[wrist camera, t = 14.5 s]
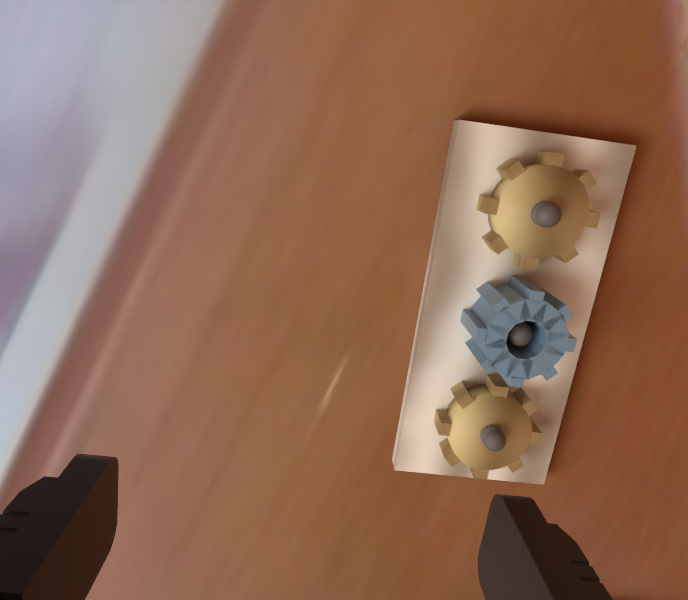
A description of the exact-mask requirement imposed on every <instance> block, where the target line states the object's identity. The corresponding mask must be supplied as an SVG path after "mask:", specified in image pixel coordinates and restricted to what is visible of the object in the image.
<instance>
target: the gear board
mask: <svg viewBox="0 0 688 600" xmlns="http://www.w3.org/2000/svg"><path fill="white" fill-rule="evenodd" d="M635 150H636V145H629V144H622V143H615V142H609V141H602V140H595V139H588V138H581V137H574V136H568V135H561V134H554V133H547V132H540V131H533V130H527V129H520V128H513V127H506V126H499V125H492V124H486V123H479V122H472V121H465V120H454V122H453V127H452V133H451V138H450V144H449V149H448V155H447V160H446V166H445V171H444V177H443V182H442V188H441V193H440V199H439V204H438V210H437V215H436V221H435V226H434V232H433V237H432V243H431V248H430V254H429V259H428V265H427V270H426V276H425V282H424V287H423V293H422V298H421V304H420V309H419V315H418V320H417V326H416V331H415V337H414V342H413V348H412V353H411V359H410V364H409V370H408V375H407V381H406V386H405V392H404V397H403V403H402V408H401V414H400V419H399V425H398V430H397V436H396V441H395V447H394V452H393V458H392V461H393V465H394V470H398V471H409V472H419V473H429V474H440V475H450V476H461V477H471V478H476V479H492V480H502V481H513V482H523V483H533V484H544V482H545V479H546V475H547V471H548V468H549V464H550V460H551V457H552V453H553V449H554V446H555V442H556V438H557V435H558V431H559V428H560V424H561V420H562V417H563V413H564V409H565V406H566V402H567V398H568V395H569V391H570V387H571V384H572V380H573V376H574V373H575V369H576V365H577V362H578V358H579V354H580V351H581V347H582V343H583V340H584V336H585V333H586V329H587V325H588V322H589V318H590V314H591V311H592V307H593V303H594V300H595V296H596V292H597V289H598V285H599V281H600V278H601V274H602V270H603V267H604V263H605V259H606V256H607V252H608V248H609V245H610V241H611V238H612V234H613V230H614V227H615V223H616V219H617V216H618V212H619V208H620V205H621V201H622V197H623V194H624V190H625V186H626V183H627V179H628V175H629V172H630V168H631V164H632V161H633V157H634V153H635ZM510 275H511V276H519V277H524V278H525V279H526V280H528V281H529V282H531V283H532V284H534V285H535V286H537V287H538V288H540V289H544V290H545V291H547V292H548V293H550V294H551V295H553V296H554V297H556V298H557V299H559V300H560V301H561V302H563V303H564V304H566V305H567V306H568V308H569V309H570V311H571V312H572V314H573V315H574V316H572V317H571V318H569V319H568V320H566V321H565V322H566V325H567V328H568V332H569V333H570V334H571V335H572V336H573V337H575V338H576V339H577V342H576V346H575V349H574V352H567V351H565V353H564V356H563V357H562V358H561V359H560V360H559V361H558V362H557V363H556V364H555V365H554V368H555V369H556V370H557V372H558V374H556V375H555V376H554V377H552V378H551V379H549V380H548V381H546V379H545V378H544V377H543V376H542V375H538V376H536V377H533V378H531V379H528V380H527V379H524V381H523V385H522V387H513V386H508V384H507V383H506V382H505V380H504V379H503V378H502V376H501V375H500V374H499V373H498V371H497V370H496V369H495V370H494V371H492V372H491V373H489V374H487V373H486V372H485V370H484V369H483V368H482V366H481V365H480V363H479V362H478V361H477V359H476V358H475V356H474V355H473V354H472V352H471V351H470V349H469V348H468V346H467V345H466V344H465V342H467V341H468V340H469V339H471V338H472V336H471V335H470V333H469V332H468V331H467V330H466V328H465V327H464V326H463V324H462V323H461V322H460V320H461V315H462V310H463V309H464V310H471V307H472V306H473V304H474V303H475V302H476V301H477V300H478V299H479V297H480V294H479V293H478V291H477V290H476V289H477V288H478V287H480V286H481V285H483V284H484V283H485V282H488V283H489V284H490V285H491V286H492V287H493V288H494V287H496V286H499V285H501V284H504V283H507V284H508V283H509V278H510ZM531 338H532V331H531V329H530V327H529V326H528V325H527V324H526V323H525V322H521V323H519V324H516V325H515V326H514V327H513V328H512V329H511V330H510V331H509V333H508V336H507V339H508V340H509V341H510V342H511V343H512V344H513V345H515V346H524V345H526V344H528V343H529V342H530V340H531Z"/></svg>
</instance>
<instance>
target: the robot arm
mask: <svg viewBox="0 0 688 600" xmlns="http://www.w3.org/2000/svg"><path fill="white" fill-rule="evenodd" d="M117 508H118V460H117V458H116V457H108V456H97V455H87V454H77V455H76V456H75V457H74V458H73V459H72V461H71V462H70V463H69V464H68V466H67V467H66V468H65V469H64V471H63V472H62V473H61V475H60V476H59V477H58V478H55V477H43V478H41V479H40V480H38V481H36V482H35V483H33V484H32V485H30V486H28V487H27V488H25V489H23V490H22V491H20V492H19V493H18V495H17V496H16V497H15V498H14V499H13V500H12V502H11V503H10V504H9V505H8V506H7V507H6V508H5V510H4V512H3V514H2V515H0V600H85V598H86V596H87V595H88V593H89V591H90V589H91V587H92V585H93V583H94V581H95V579H96V577H97V575H98V573H99V571H100V569H101V567H102V565H103V564H104V562H105V560H106V558H107V556H108V554H109V552H110V549H111V547H112V544H113V540H114V536H115V532H116V526H117ZM478 575H479V581H480V585H481V588H482V590H483V593H484V596H485V599H486V600H612V598H611V596H610V595H609V593H608V592H607V590H606V588H605V587H604V585H603V584H602V583H600V582H599V577H598V576H597V574H596V573H595V571H594V569H593V568H592V566H589V562H588V560H587V558H586V557H585V555H584V554H583V552H582V550H581V549H580V547H579V546H578V544H577V543H576V542H575V541H574V540H573V539H572V538H571V537H570V536H569V535H568V534H567V533H565V532H564V531H563V530H562V529H561V528H560V527H559V526H558V525H556V524H549V523H547V521H546V520H545V518H544V516H543V515H542V513H541V511H540V510H539V508H538V506H537V504H536V503H535V501H534V500H533V499H532V498H530V497H521V496H510V495H500V494H496V495H495V496H494V497H493V499H492V501H491V505H490V509H489V513H488V517H487V521H486V525H485V529H484V533H483V537H482V542H481V546H480V550H479V555H478Z"/></svg>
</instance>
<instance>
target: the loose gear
mask: <svg viewBox="0 0 688 600" xmlns="http://www.w3.org/2000/svg"><path fill="white" fill-rule="evenodd" d="M476 290H477V291H478V293H479V294H480V297H479V299H478V300H477V301H476V302H475V303H474V304H473V306H472V307H471V310H464V309H463V310H462V315H461V320H460V322H461V323H462V324H463V326H464V327H465V328H466V330H467V331H468V332H469V333H470V335H471V336H472V338H471V339H469V340H468V341H467V342H465V344H466V345H467V346H468V348H469V349H470V351H471V352H472V354H473V355H474V356H475V358H476V359H477V361H478V362H479V363H480V365H481V366H482V368H483V369H484V370H485V372H486V373H487V374H489V373H491V372H492V371H494V370H495V369H496V370H497V371H498V373H499V374H500V375H501V376H502V378H503V379H504V380H505V382H506V383H507V384H508V386H513V387H522V385H523V381H524V379H527V380H528V379H531V378H533V377H536V376H538V375H542V376H543V377H544V378H545V379H546V381H548V380H549V379H551V378H552V377H554V376H555V375H556V374H558V372H557V370H556V369H555V368H554V365H555V364H556V363H557V362H558V361H559V360H560V359H561V358H562V357H563V356H564V353H565V351H567V352H574V349H575V346H576V342H577V339H576V338H575V337H573V336H572V335H571V334H570V333H569V332H568V328H567V325H566V322H565V321H566V320H568V319H569V318H571V317H572V316H574V315H573V314H572V312H571V311H570V309H569V308H568V306H567V305H566V304H564V303H563V302H561V301H560V300H559V299H557V298H556V297H554V296H553V295H551V294H550V293H548V292H547V291H545V290H544V289H540V288H538V287H537V286H535V285H534V284H532V283H531V282H529V281H528V280H526V279H525V278H524V277H519V276H511V275H510V278H509V283H508V284H507V283H504V284H501V285H499V286H496V287H494V288H493V287H492V286H491V285H490V284H489V283H488V282H485V283H484V284H483V285H481V286H480V287H478V288H477V289H476ZM521 322H525V323H526V324H527V325H528V326H529V327H530V329H531V331H532V338H531V340H530V342H529V343H528V344H526V345H524V346H515V345H513V344H512V343H511V342H510V341H509V340H508V339H507V336H508V333H509V331H510V330H511V329H512V328H513V327H514V326H515V325H516V324H519V323H521Z"/></svg>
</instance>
